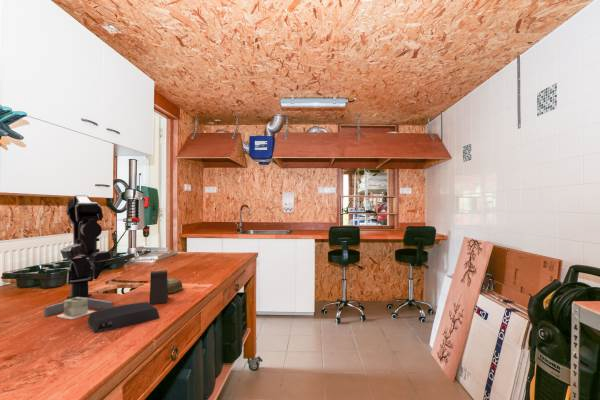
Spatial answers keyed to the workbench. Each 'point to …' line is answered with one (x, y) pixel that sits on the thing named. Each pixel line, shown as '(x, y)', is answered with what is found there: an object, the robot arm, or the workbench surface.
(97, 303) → the l-shaped corner bracket
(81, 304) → the cube
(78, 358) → the workbench surface
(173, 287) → the weight
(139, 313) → the external hard drive
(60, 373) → the workbench surface
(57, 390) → the workbench surface
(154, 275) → the phone stand
